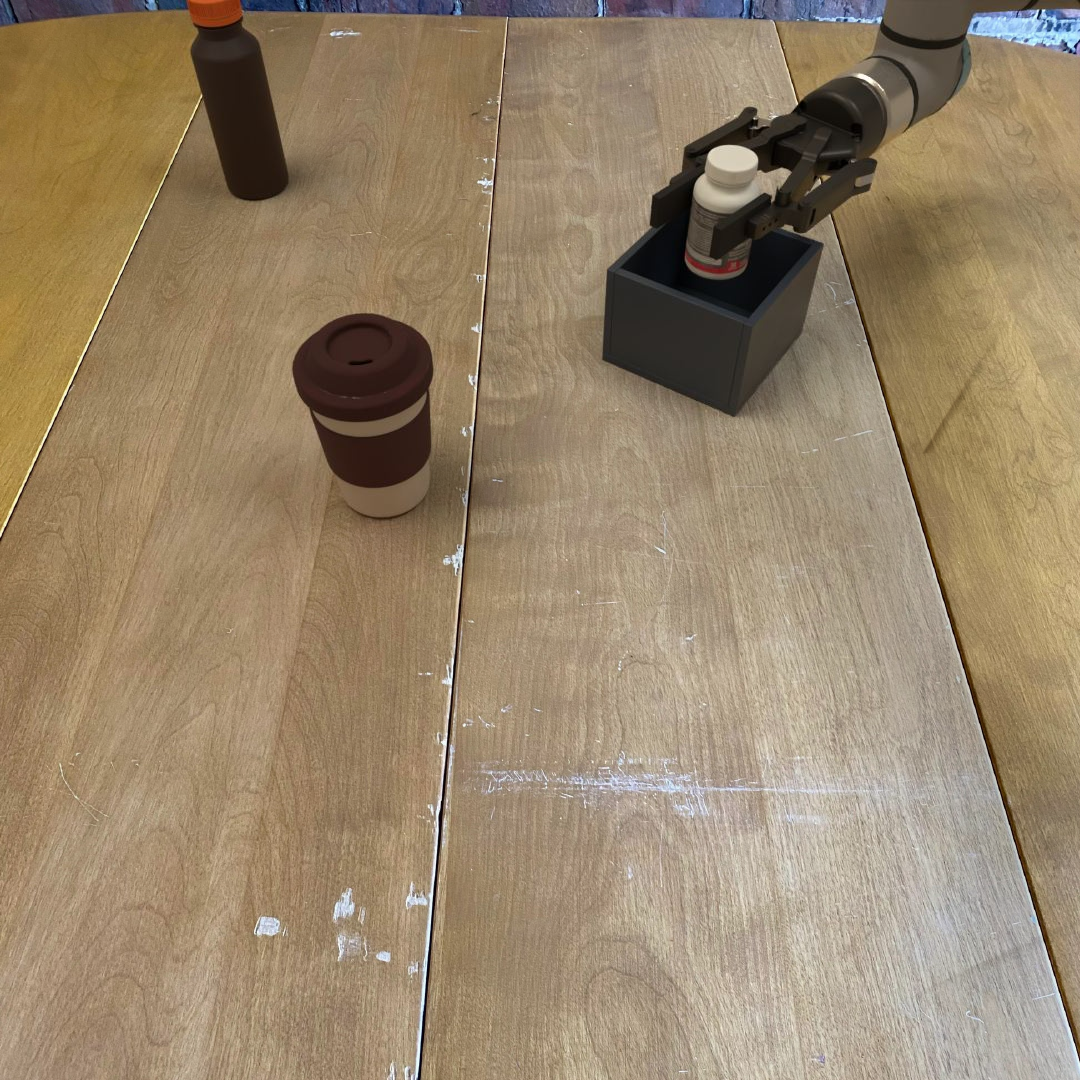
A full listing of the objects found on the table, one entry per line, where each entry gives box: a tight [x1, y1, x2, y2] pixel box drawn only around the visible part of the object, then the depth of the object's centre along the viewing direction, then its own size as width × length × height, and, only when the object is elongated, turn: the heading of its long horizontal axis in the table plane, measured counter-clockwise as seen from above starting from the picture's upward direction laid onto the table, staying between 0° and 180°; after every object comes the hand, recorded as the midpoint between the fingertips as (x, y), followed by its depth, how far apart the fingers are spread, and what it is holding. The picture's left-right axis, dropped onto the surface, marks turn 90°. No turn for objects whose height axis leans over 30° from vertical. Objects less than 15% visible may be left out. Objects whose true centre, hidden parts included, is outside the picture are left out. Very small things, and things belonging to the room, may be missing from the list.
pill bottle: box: [685, 145, 761, 280], centre depth 81 cm, size 5×5×10 cm
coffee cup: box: [291, 312, 434, 518], centre depth 75 cm, size 10×10×15 cm
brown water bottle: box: [186, 0, 290, 200], centre depth 102 cm, size 7×7×20 cm
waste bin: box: [601, 207, 825, 417], centre depth 88 cm, size 14×14×10 cm
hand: (684, 227), depth 78 cm, fingers closed on pill bottle, 5 cm apart
